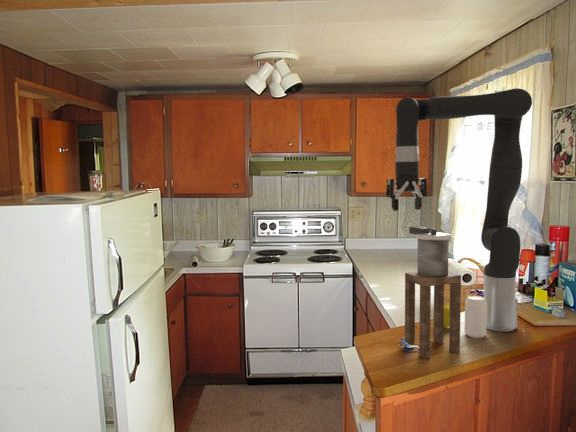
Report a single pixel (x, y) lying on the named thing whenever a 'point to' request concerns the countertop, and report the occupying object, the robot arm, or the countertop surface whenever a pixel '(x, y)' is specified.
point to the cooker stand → (434, 274)
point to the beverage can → (475, 316)
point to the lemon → (446, 315)
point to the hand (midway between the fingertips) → (406, 210)
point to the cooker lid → (428, 233)
